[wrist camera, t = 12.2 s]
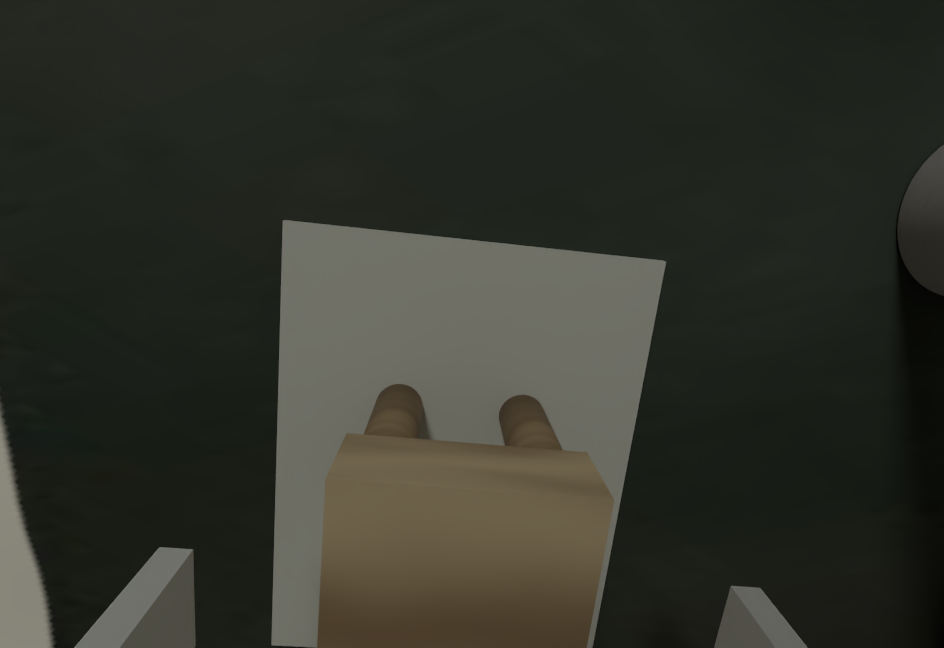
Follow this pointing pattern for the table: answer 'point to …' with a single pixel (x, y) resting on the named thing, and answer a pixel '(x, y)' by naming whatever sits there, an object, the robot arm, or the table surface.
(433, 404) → the mat
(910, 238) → the coffee cup
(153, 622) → the robot arm
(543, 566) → the wooden stool
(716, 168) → the table surface
